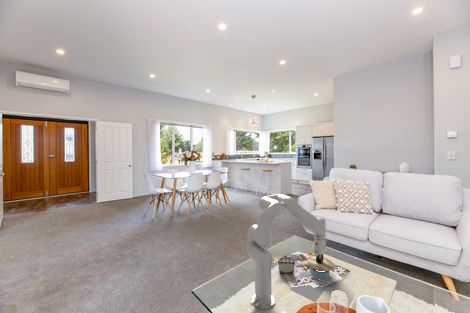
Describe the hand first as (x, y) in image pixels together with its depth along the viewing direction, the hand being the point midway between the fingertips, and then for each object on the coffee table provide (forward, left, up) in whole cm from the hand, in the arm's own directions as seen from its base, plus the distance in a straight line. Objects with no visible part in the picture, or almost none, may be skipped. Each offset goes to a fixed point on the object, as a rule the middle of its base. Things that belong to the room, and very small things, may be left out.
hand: (319, 261), depth 144 cm
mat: (-18, 0, -10) cm, 21 cm away
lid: (0, 0, -2) cm, 2 cm away
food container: (-12, +19, -10) cm, 25 cm away
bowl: (0, 0, -10) cm, 10 cm away
